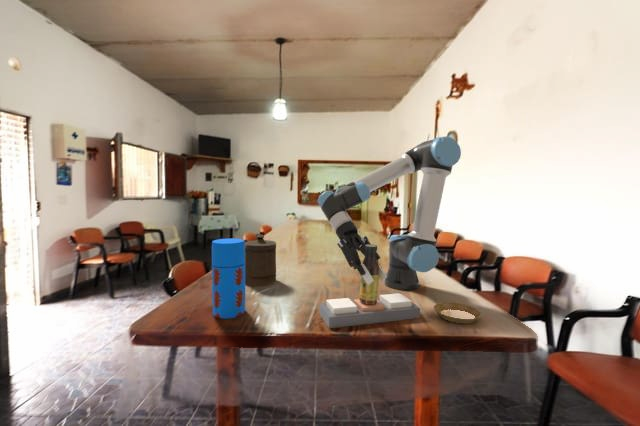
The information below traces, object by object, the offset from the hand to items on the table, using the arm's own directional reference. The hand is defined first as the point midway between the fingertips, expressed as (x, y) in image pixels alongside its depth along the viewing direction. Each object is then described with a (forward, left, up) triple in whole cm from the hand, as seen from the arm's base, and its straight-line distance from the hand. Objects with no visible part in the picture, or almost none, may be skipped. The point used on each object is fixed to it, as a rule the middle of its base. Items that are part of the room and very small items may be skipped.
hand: (377, 280), depth 101 cm
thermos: (+47, -17, -13) cm, 52 cm away
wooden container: (+34, -51, -13) cm, 63 cm away
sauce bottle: (+2, -3, -9) cm, 9 cm away
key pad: (+1, -3, -13) cm, 13 cm away
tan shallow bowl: (-28, +5, -13) cm, 31 cm away
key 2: (-9, -3, -10) cm, 14 cm away
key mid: (+1, -3, -11) cm, 11 cm away
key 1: (+11, -3, -10) cm, 16 cm away
